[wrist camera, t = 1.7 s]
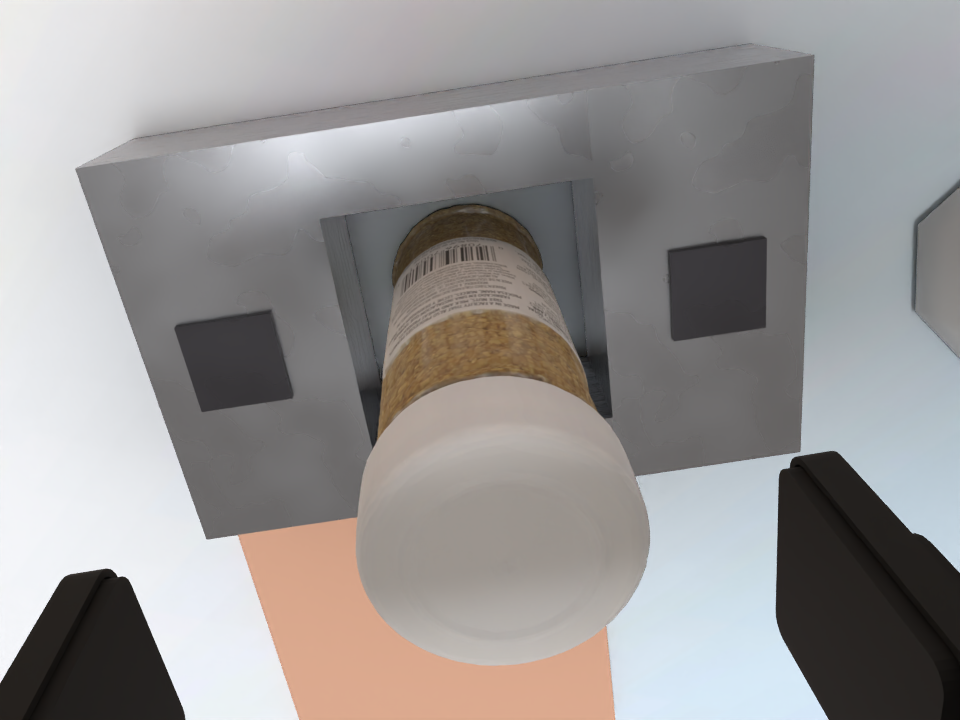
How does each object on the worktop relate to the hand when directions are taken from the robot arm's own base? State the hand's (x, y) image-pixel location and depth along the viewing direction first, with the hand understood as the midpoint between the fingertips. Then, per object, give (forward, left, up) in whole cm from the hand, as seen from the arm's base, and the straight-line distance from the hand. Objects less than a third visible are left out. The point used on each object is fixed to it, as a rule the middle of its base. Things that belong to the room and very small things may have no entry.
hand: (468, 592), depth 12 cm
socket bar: (-1, 0, -14) cm, 14 cm away
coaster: (+2, +13, -14) cm, 19 cm away
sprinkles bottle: (-1, 0, -14) cm, 14 cm away
